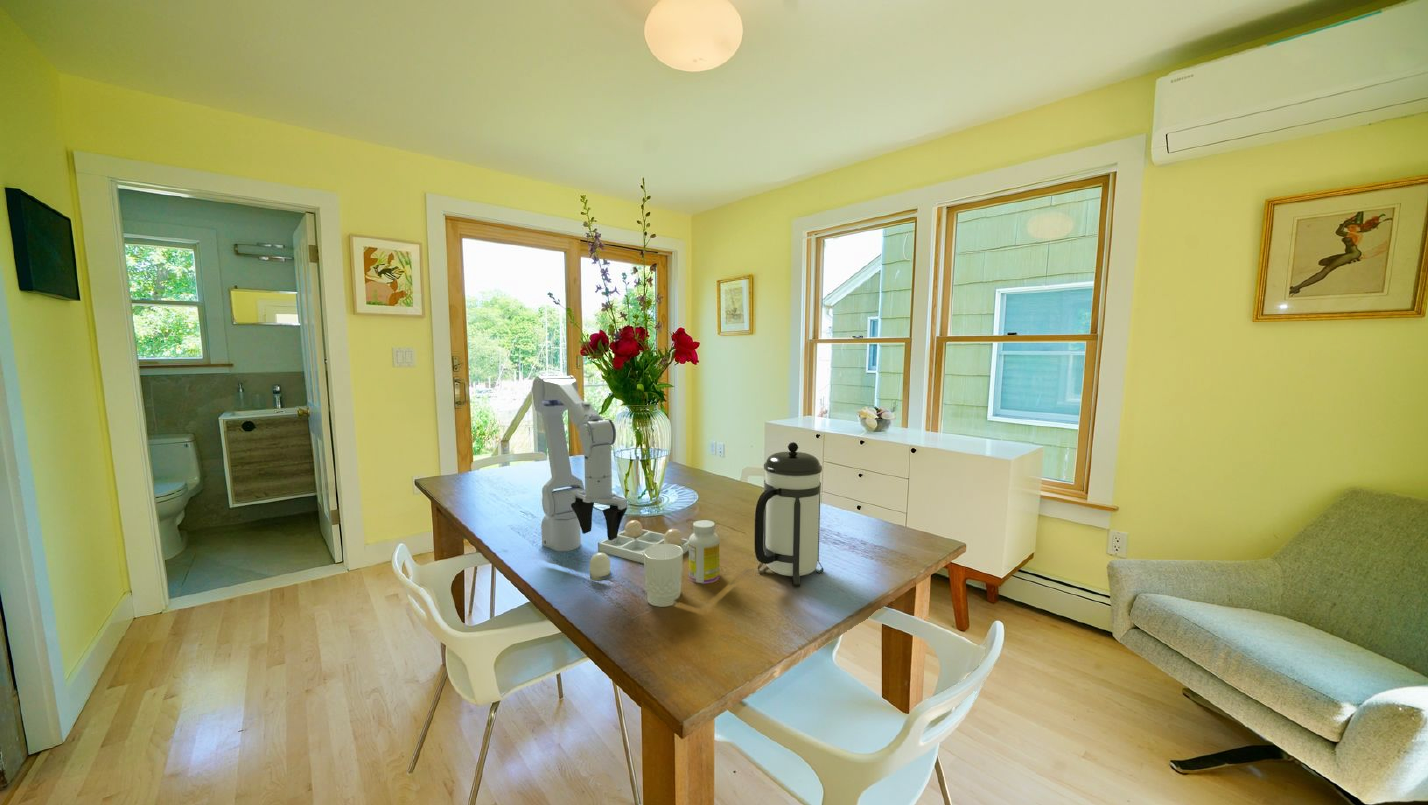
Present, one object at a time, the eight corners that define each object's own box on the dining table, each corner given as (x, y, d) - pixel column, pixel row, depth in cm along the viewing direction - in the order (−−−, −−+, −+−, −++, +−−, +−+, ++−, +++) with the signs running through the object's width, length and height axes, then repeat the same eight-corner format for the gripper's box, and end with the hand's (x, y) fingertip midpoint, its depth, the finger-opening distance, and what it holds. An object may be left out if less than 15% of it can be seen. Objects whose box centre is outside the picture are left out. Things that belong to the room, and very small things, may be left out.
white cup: (677, 610, 93) (676, 561, 92) (638, 606, 95) (637, 557, 94) (687, 591, 101) (687, 545, 100) (651, 587, 103) (651, 542, 102)
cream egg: (585, 578, 107) (585, 554, 106) (599, 570, 111) (599, 547, 110) (600, 582, 105) (600, 558, 104) (614, 574, 109) (614, 551, 108)
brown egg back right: (660, 551, 119) (660, 530, 118) (670, 545, 123) (670, 524, 122) (675, 555, 117) (675, 533, 116) (685, 549, 121) (685, 528, 120)
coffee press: (752, 557, 118) (753, 436, 115) (818, 559, 117) (821, 437, 114) (753, 592, 101) (755, 450, 98) (831, 594, 100) (835, 451, 97)
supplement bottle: (723, 576, 108) (723, 520, 107) (713, 589, 102) (713, 530, 101) (695, 571, 110) (695, 517, 109) (684, 584, 104) (684, 526, 103)
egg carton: (598, 554, 119) (597, 542, 119) (631, 537, 131) (631, 526, 130) (661, 572, 110) (661, 559, 110) (692, 552, 121) (692, 540, 121)
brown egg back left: (621, 541, 125) (621, 521, 124) (632, 536, 129) (632, 516, 128) (635, 545, 123) (634, 524, 122) (645, 539, 127) (645, 519, 126)
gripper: (560, 474, 106) (562, 535, 107) (611, 483, 98) (612, 548, 100) (583, 468, 112) (585, 525, 113) (633, 476, 105) (634, 537, 106)
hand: (599, 535), depth 107 cm, fingers open, 7 cm apart
